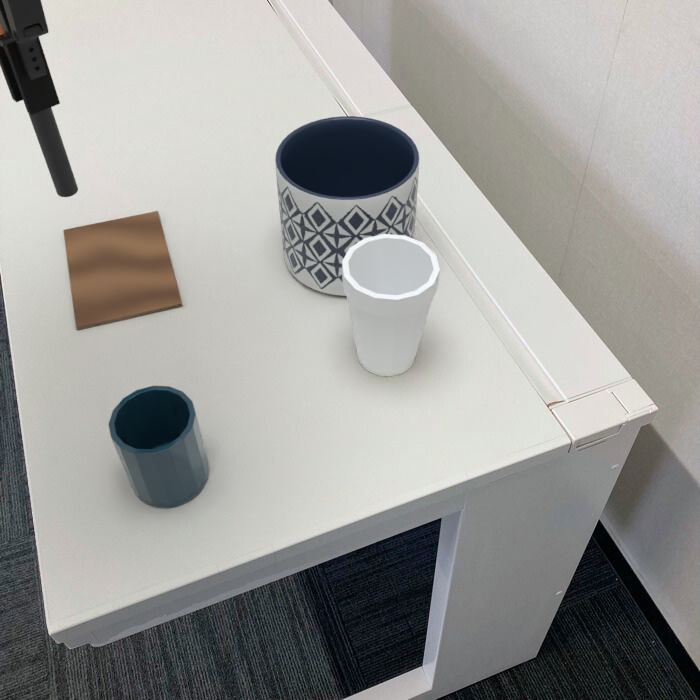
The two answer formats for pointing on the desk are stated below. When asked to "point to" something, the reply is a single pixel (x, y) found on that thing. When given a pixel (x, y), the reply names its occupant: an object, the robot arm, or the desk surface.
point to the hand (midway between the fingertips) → (36, 100)
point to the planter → (342, 193)
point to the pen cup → (160, 445)
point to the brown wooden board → (120, 270)
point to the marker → (53, 150)
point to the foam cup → (389, 299)
